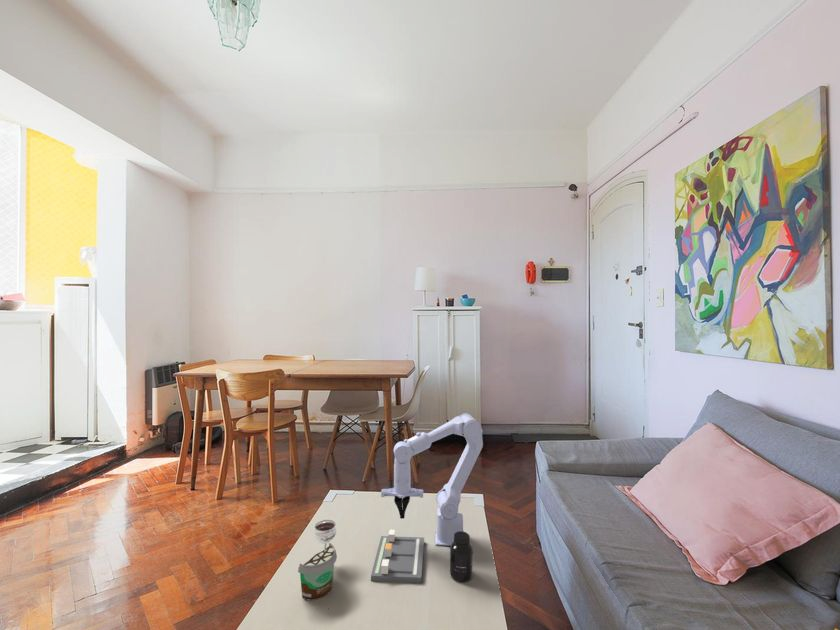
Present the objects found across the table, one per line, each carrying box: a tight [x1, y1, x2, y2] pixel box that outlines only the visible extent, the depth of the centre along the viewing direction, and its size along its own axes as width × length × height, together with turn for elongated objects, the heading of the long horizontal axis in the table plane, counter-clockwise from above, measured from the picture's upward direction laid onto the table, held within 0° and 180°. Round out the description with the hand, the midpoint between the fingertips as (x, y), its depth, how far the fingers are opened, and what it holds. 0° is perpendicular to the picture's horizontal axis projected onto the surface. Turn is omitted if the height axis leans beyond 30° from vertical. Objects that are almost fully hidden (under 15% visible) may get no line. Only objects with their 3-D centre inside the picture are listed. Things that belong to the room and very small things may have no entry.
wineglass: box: [313, 519, 337, 550], centre depth 118 cm, size 7×7×12 cm
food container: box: [297, 542, 338, 601], centre depth 106 cm, size 12×6×10 cm, turn 148°
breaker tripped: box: [385, 543, 392, 557], centre depth 120 cm, size 2×3×2 cm, turn 177°
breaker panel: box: [370, 535, 425, 584], centre depth 120 cm, size 15×20×2 cm
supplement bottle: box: [449, 530, 474, 583], centre depth 113 cm, size 7×7×12 cm
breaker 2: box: [387, 529, 396, 542], centre depth 128 cm, size 2×3×2 cm, turn 177°
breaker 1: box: [381, 559, 389, 574], centre depth 112 cm, size 2×3×2 cm, turn 177°
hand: (402, 517), depth 129 cm, fingers closed
